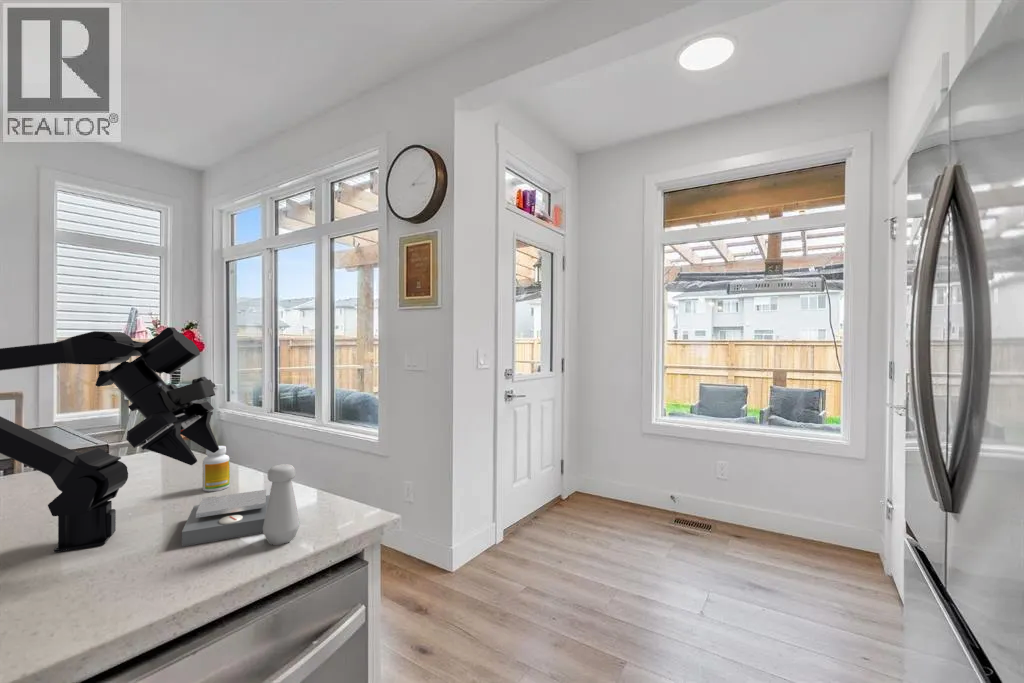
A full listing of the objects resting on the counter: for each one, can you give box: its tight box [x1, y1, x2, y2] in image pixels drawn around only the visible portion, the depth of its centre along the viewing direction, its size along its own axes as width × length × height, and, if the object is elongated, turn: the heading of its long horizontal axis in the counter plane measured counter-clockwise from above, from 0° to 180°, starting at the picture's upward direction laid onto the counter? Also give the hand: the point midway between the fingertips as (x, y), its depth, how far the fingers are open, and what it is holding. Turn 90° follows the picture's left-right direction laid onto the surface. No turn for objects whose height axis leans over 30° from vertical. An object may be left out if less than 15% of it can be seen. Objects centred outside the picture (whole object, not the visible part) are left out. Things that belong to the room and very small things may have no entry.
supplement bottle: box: [202, 445, 231, 492], centre depth 108 cm, size 5×5×10 cm
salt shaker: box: [262, 463, 301, 546], centre depth 80 cm, size 6×6×13 cm
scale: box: [181, 494, 270, 547], centre depth 87 cm, size 14×14×3 cm
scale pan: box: [196, 489, 267, 518], centre depth 88 cm, size 11×9×1 cm
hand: (206, 457), depth 83 cm, fingers open, 9 cm apart
